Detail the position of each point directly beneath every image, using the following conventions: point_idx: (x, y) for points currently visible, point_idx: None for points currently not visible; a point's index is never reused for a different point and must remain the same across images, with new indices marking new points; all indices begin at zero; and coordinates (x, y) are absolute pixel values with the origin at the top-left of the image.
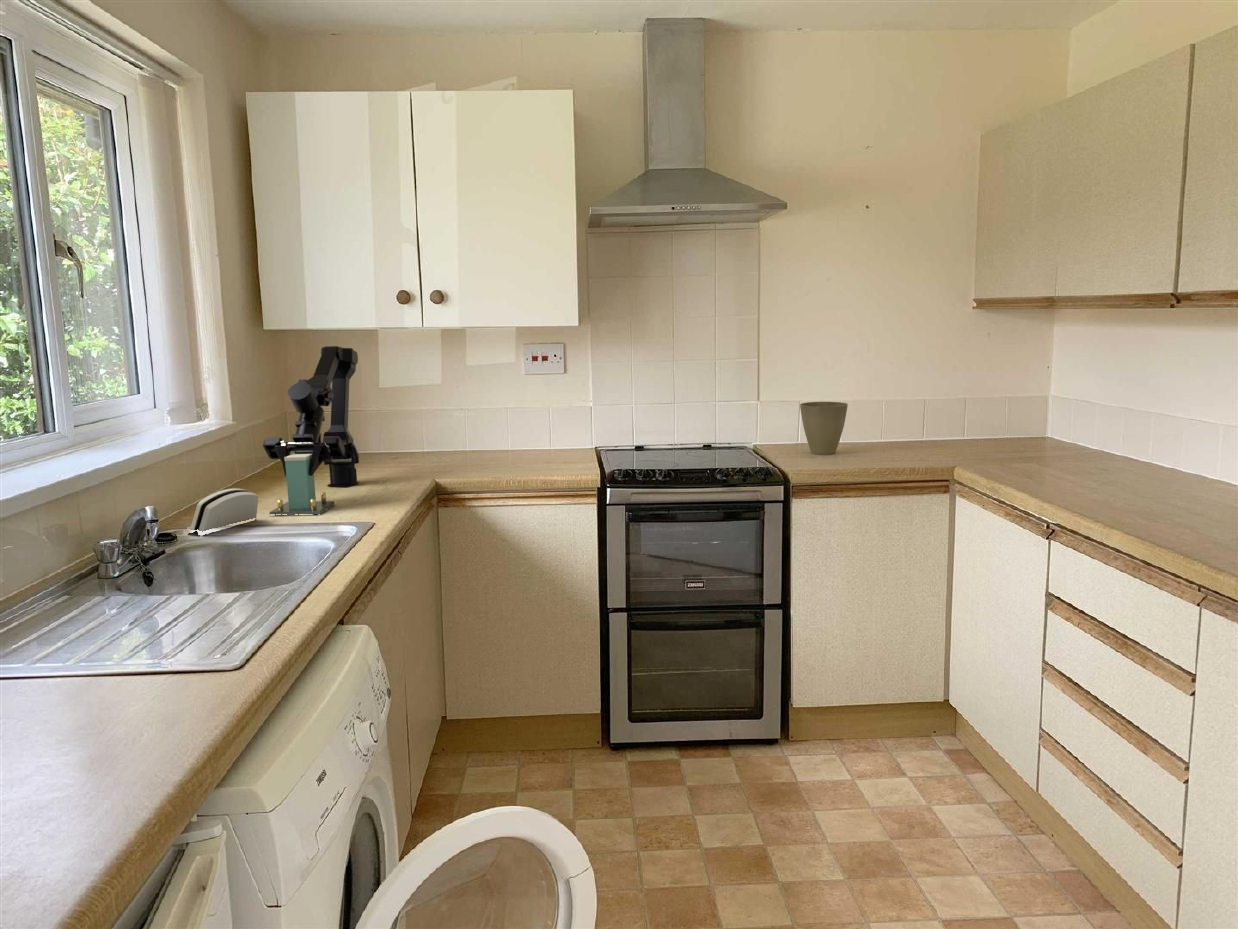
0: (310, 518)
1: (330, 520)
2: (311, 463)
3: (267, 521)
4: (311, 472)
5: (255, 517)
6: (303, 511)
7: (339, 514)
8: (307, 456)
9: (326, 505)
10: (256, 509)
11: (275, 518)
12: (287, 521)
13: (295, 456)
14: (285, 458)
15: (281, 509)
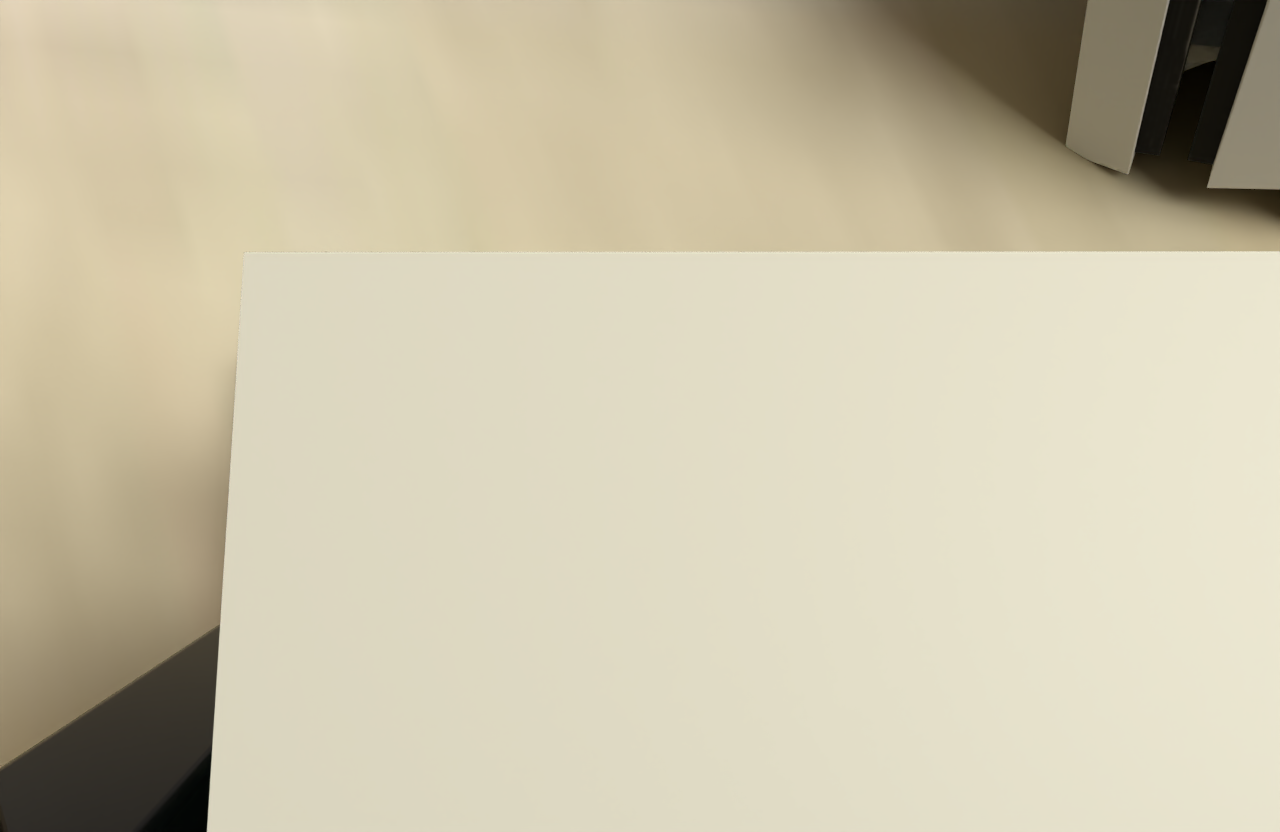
0: (363, 182)
1: (52, 43)
2: (211, 692)
3: (883, 73)
4: None
5: (1075, 100)
6: None
7: (3, 390)
8: (231, 548)
9: None
10: (1088, 11)
11: (854, 230)
12: (618, 47)
13: (917, 558)
14: (1270, 258)
15: None
